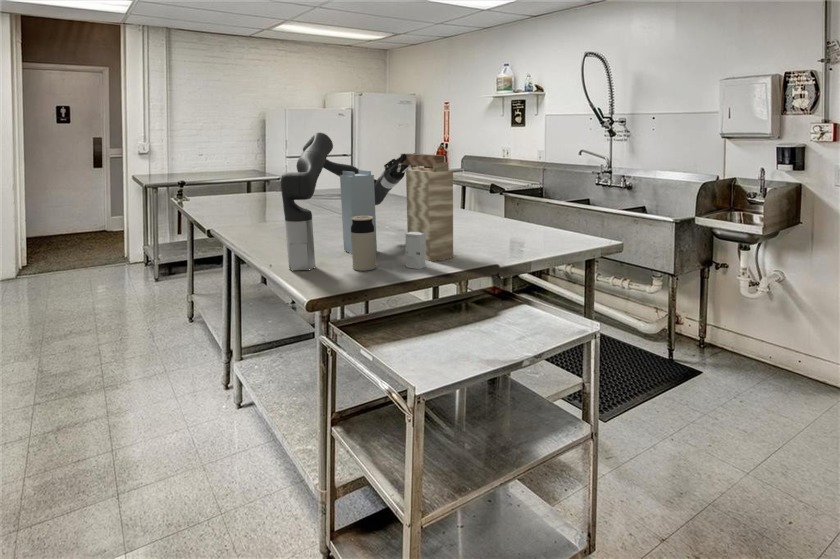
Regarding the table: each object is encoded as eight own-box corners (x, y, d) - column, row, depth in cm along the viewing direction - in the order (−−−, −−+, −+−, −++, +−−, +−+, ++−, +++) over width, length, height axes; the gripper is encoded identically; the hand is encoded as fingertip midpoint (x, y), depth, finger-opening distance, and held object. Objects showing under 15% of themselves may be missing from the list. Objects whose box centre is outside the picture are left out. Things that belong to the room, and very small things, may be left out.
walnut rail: (444, 166, 198) (444, 155, 197) (435, 167, 196) (435, 155, 195) (409, 164, 218) (409, 153, 217) (400, 164, 216) (400, 153, 215)
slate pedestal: (376, 251, 220) (373, 170, 212) (354, 255, 215) (349, 172, 207) (366, 248, 228) (363, 169, 219) (344, 251, 223) (339, 171, 214)
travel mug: (380, 268, 195) (378, 216, 190) (363, 272, 189) (361, 219, 185) (365, 264, 200) (362, 214, 195) (348, 269, 195) (345, 217, 190)
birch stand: (453, 257, 208) (452, 162, 199) (430, 261, 203) (429, 163, 194) (429, 250, 221) (428, 160, 212) (408, 253, 216) (405, 161, 207)
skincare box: (405, 267, 195) (404, 233, 192) (411, 264, 199) (410, 231, 196) (420, 269, 192) (419, 234, 189) (426, 266, 196) (426, 232, 193)
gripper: (373, 168, 224) (391, 147, 210) (404, 166, 232) (423, 146, 217) (378, 185, 223) (396, 165, 209) (409, 183, 230) (428, 163, 216)
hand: (410, 155), depth 213 cm, fingers closed on walnut rail, 4 cm apart
